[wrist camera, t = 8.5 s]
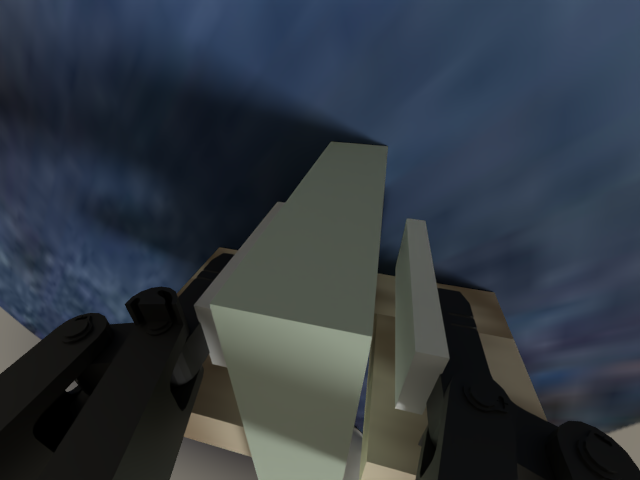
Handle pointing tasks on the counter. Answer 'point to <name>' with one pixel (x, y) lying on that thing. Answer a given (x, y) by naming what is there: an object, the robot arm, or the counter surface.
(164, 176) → the counter surface
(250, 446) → the sage plate
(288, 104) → the counter surface
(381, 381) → the beech u-shaped block
